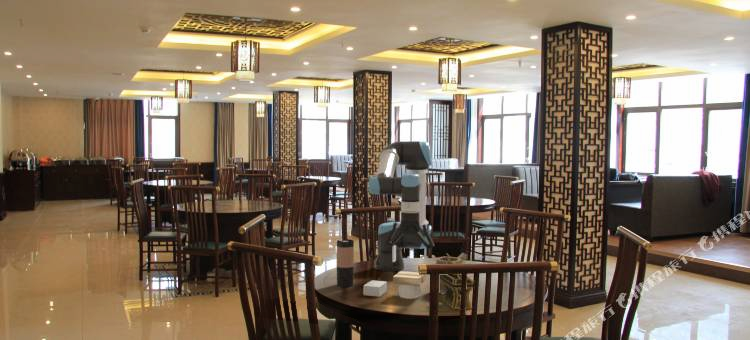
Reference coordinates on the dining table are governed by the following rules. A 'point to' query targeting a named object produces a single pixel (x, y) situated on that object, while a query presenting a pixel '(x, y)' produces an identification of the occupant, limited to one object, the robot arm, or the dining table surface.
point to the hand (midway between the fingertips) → (409, 262)
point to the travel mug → (345, 263)
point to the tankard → (453, 259)
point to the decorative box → (455, 288)
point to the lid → (408, 278)
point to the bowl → (409, 291)
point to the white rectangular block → (375, 288)
